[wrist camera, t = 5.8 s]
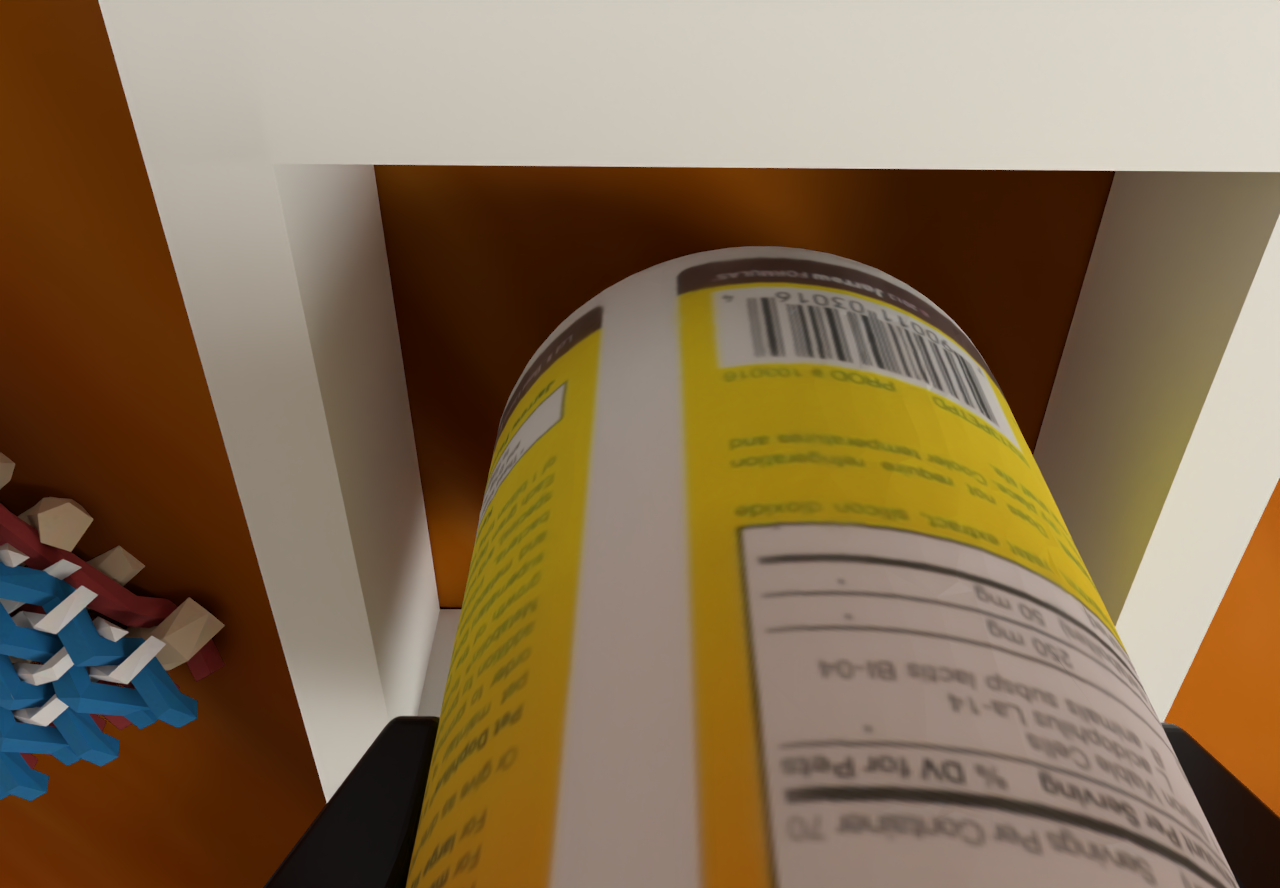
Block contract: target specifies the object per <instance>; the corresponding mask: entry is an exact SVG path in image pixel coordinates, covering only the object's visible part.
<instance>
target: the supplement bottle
mask: <svg viewBox="0 0 1280 888" xmlns="http://www.w3.org/2000/svg"><path fill="white" fill-rule="evenodd" d="M406 888H1240V887H1239V885H1238V883H1237V881H1236V879H1235V877H1234V875H1233V873H1232V871H1231V869H1230V867H1229V865H1228V863H1227V861H1226V859H1225V856H1224V854H1223V852H1222V850H1221V848H1220V846H1219V844H1218V842H1217V840H1216V838H1215V836H1214V834H1213V832H1212V830H1211V828H1210V825H1209V823H1208V821H1207V819H1206V817H1205V815H1204V813H1203V811H1202V809H1201V807H1200V805H1199V803H1198V801H1197V799H1196V796H1195V794H1194V792H1193V790H1192V788H1191V786H1190V784H1189V782H1188V780H1187V778H1186V776H1185V773H1184V771H1183V769H1182V767H1181V765H1180V763H1179V761H1178V759H1177V757H1176V754H1175V752H1174V750H1173V748H1172V746H1171V744H1170V742H1169V740H1168V738H1167V735H1166V733H1165V731H1164V729H1163V727H1162V725H1161V723H1160V721H1159V719H1158V716H1157V714H1156V712H1155V710H1154V708H1153V706H1152V704H1151V702H1150V700H1149V698H1148V696H1147V694H1146V693H1145V690H1144V688H1143V686H1142V684H1141V682H1140V679H1139V677H1138V675H1137V673H1136V671H1135V668H1134V666H1133V664H1132V662H1131V660H1130V658H1129V656H1128V654H1127V652H1126V650H1125V648H1124V646H1123V643H1122V641H1121V639H1120V637H1119V635H1118V633H1117V631H1116V629H1115V626H1114V624H1113V622H1112V620H1111V618H1110V616H1109V614H1108V612H1107V610H1106V607H1105V605H1104V603H1103V601H1102V599H1101V597H1100V595H1099V593H1098V591H1097V589H1096V587H1095V585H1094V583H1093V581H1092V578H1091V576H1090V574H1089V572H1088V570H1087V568H1086V566H1085V564H1084V562H1083V560H1082V558H1081V556H1080V554H1079V552H1078V550H1077V548H1076V546H1075V544H1074V542H1073V540H1072V537H1071V535H1070V533H1069V531H1068V529H1067V527H1066V524H1065V522H1064V520H1063V518H1062V516H1061V514H1060V511H1059V509H1058V507H1057V505H1056V503H1055V501H1054V499H1053V497H1052V495H1051V493H1050V490H1049V488H1048V486H1047V484H1046V482H1045V480H1044V478H1043V476H1042V474H1041V472H1040V470H1039V468H1038V465H1037V463H1036V461H1035V459H1034V457H1033V455H1032V453H1031V451H1030V449H1029V447H1028V445H1027V443H1026V441H1025V439H1024V437H1023V435H1022V433H1021V431H1020V428H1019V426H1018V424H1017V422H1016V420H1015V418H1014V416H1013V414H1012V412H1011V409H1010V407H1009V405H1008V403H1007V400H1006V398H1005V396H1004V394H1003V392H1002V390H1001V388H1000V386H999V384H998V382H997V380H996V379H995V377H994V376H993V374H992V372H991V371H990V369H989V367H988V366H987V364H986V362H985V361H984V359H983V357H982V356H981V354H980V353H979V351H978V350H977V349H976V347H975V346H974V344H973V343H972V342H971V340H970V339H969V337H968V336H967V335H966V334H965V333H964V332H963V330H962V329H961V328H960V327H959V326H958V325H957V324H956V323H955V321H954V320H953V319H951V318H950V317H949V316H948V315H947V314H946V313H945V312H944V311H943V310H942V309H940V308H939V307H938V306H937V305H936V304H934V303H933V302H932V301H931V300H929V299H928V298H927V297H926V296H924V295H923V294H921V293H920V292H918V291H917V290H915V289H913V288H912V287H910V286H909V285H907V284H906V283H904V282H902V281H900V280H898V279H896V278H895V277H893V276H891V275H889V274H887V273H885V272H883V271H881V270H879V269H877V268H874V267H871V266H868V265H866V264H863V263H860V262H858V261H854V260H851V259H848V258H844V257H841V256H837V255H834V254H830V253H824V252H819V251H813V250H808V249H802V248H791V247H780V246H744V247H731V248H724V249H718V250H711V251H705V252H699V253H695V254H690V255H686V256H682V257H679V258H676V259H672V260H669V261H666V262H663V263H660V264H657V265H654V266H652V267H650V268H647V269H645V270H642V271H640V272H638V273H635V274H633V275H631V276H629V277H627V278H625V279H623V280H621V281H620V282H618V283H616V284H614V285H612V286H610V287H608V288H607V289H605V290H603V291H602V292H601V293H599V294H598V295H596V296H595V297H593V298H592V299H591V300H589V301H588V302H586V303H585V304H584V305H582V306H581V307H579V308H578V309H577V310H575V311H574V312H573V313H572V314H571V315H570V316H569V317H568V318H566V319H565V320H564V321H563V322H562V323H561V324H560V325H559V326H558V327H557V328H556V329H555V330H554V331H553V332H552V333H551V334H550V336H549V337H548V338H547V339H546V340H545V341H544V343H543V344H542V345H541V346H540V347H539V348H538V350H537V351H536V352H535V354H534V355H533V356H532V358H531V359H530V361H529V362H528V364H527V365H526V367H525V369H524V371H523V372H522V374H521V376H520V378H519V379H518V381H517V383H516V385H515V387H514V388H513V390H512V392H511V394H510V396H509V398H508V401H507V404H506V407H505V409H504V412H503V415H502V418H501V420H500V424H499V428H498V433H497V438H496V442H495V446H494V451H493V456H492V461H491V466H490V470H489V475H488V479H487V484H486V489H485V494H484V499H483V505H482V508H481V512H480V516H479V524H478V528H477V532H476V539H475V545H474V549H473V554H472V559H471V563H470V569H469V574H468V580H467V585H466V589H465V594H464V599H463V604H462V609H461V614H460V619H459V624H458V628H457V632H456V637H455V641H454V647H453V652H452V658H451V663H450V669H449V674H448V678H447V683H446V687H445V692H444V698H443V703H442V709H441V715H440V720H439V725H438V730H437V735H436V740H435V745H434V750H433V755H432V760H431V765H430V770H429V774H428V779H427V784H426V789H425V794H424V799H423V804H422V809H421V814H420V819H419V824H418V829H417V834H416V839H415V844H414V848H413V853H412V858H411V863H410V867H409V872H408V878H407V883H406Z"/></svg>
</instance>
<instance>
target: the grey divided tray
mask: <svg viewBox="0 0 1280 888" xmlns="http://www.w3.org/2000/svg"><path fill="white" fill-rule="evenodd" d="M98 1H99V5H100V8H101V12H102V15H103V19H104V22H105V26H106V29H107V33H108V36H109V40H110V43H111V47H112V50H113V54H114V57H115V61H116V64H117V68H118V71H119V75H120V79H121V82H122V86H123V89H124V93H125V96H126V100H127V103H128V107H129V110H130V114H131V117H132V121H133V124H134V128H135V131H136V135H137V138H138V142H139V145H140V149H141V152H142V156H143V159H144V163H145V166H146V170H147V173H148V177H149V180H150V184H151V187H152V191H153V194H154V198H155V202H156V205H157V209H158V212H159V216H160V219H161V223H162V226H163V230H164V233H165V237H166V240H167V244H168V247H169V251H170V254H171V258H172V261H173V265H174V268H175V272H176V275H177V279H178V282H179V286H180V289H181V293H182V296H183V300H184V303H185V307H186V310H187V314H188V317H189V321H190V325H191V328H192V332H193V335H194V339H195V342H196V346H197V349H198V353H199V356H200V360H201V363H202V367H203V370H204V374H205V377H206V381H207V384H208V388H209V391H210V395H211V398H212V402H213V405H214V409H215V412H216V416H217V419H218V423H219V426H220V430H221V433H222V437H223V440H224V444H225V448H226V451H227V455H228V458H229V462H230V465H231V469H232V472H233V476H234V479H235V483H236V486H237V490H238V493H239V497H240V500H241V504H242V507H243V511H244V514H245V518H246V521H247V525H248V528H249V532H250V535H251V539H252V542H253V546H254V549H255V553H256V556H257V560H258V563H259V567H260V571H261V574H262V578H263V581H264V585H265V588H266V592H267V595H268V599H269V602H270V606H271V609H272V613H273V616H274V620H275V623H276V627H277V630H278V634H279V637H280V641H281V644H282V648H283V651H284V655H285V658H286V662H287V665H288V669H289V672H290V676H291V679H292V683H293V686H294V690H295V694H296V697H297V701H298V704H299V708H300V711H301V715H302V718H303V722H304V725H305V729H306V732H307V736H308V739H309V743H310V746H311V750H312V753H313V757H314V760H315V764H316V767H317V771H318V774H319V778H320V781H321V785H322V788H323V792H324V795H325V799H326V802H327V803H328V801H329V800H330V799H331V797H332V796H333V795H334V793H335V792H336V791H337V789H338V788H339V787H340V786H341V784H342V783H343V782H344V780H345V779H346V778H347V776H348V775H349V774H350V772H351V771H352V770H353V768H354V767H355V766H356V764H357V763H358V762H359V760H360V759H361V758H362V756H363V755H364V754H365V752H366V751H367V750H368V748H369V747H370V746H371V744H372V743H373V742H374V740H375V739H376V738H377V737H378V735H379V734H380V733H381V731H382V730H383V729H384V727H385V726H386V725H387V724H388V722H390V721H391V720H392V719H394V718H395V717H398V716H436V717H439V718H440V715H441V709H442V703H443V698H444V692H445V687H446V683H447V678H448V674H449V669H450V663H451V658H452V652H453V647H454V641H455V637H456V632H457V628H458V624H459V619H460V614H461V609H440V606H439V600H438V593H437V586H436V580H435V573H434V566H433V560H432V553H431V546H430V539H429V533H428V526H427V519H426V513H425V506H424V499H423V493H422V486H421V479H420V472H419V466H418V459H417V452H416V446H415V439H414V432H413V426H412V419H411V412H410V406H409V399H408V392H407V385H406V379H405V372H404V365H403V359H402V352H401V345H400V339H399V332H398V325H397V319H396V312H395V305H394V298H393V292H392V285H391V278H390V272H389V265H388V258H387V252H386V245H385V238H384V232H383V225H382V218H381V211H380V205H379V198H378V191H377V185H376V178H375V171H374V165H482V166H602V167H723V168H843V169H964V170H1084V171H1116V172H1115V175H1114V179H1113V182H1112V186H1111V189H1110V192H1109V196H1108V199H1107V203H1106V206H1105V210H1104V213H1103V216H1102V220H1101V223H1100V227H1099V230H1098V234H1097V237H1096V241H1095V244H1094V247H1093V251H1092V254H1091V258H1090V261H1089V265H1088V268H1087V272H1086V275H1085V278H1084V282H1083V285H1082V289H1081V292H1080V296H1079V299H1078V302H1077V306H1076V309H1075V313H1074V316H1073V320H1072V323H1071V327H1070V330H1069V333H1068V337H1067V340H1066V344H1065V347H1064V351H1063V354H1062V358H1061V361H1060V364H1059V368H1058V371H1057V375H1056V378H1055V382H1054V385H1053V388H1052V392H1051V395H1050V399H1049V402H1048V406H1047V409H1046V413H1045V416H1044V419H1043V423H1042V426H1041V430H1040V433H1039V437H1038V440H1037V444H1036V447H1035V450H1034V454H1033V457H1034V459H1035V461H1036V463H1037V465H1038V468H1039V470H1040V472H1041V474H1042V476H1043V478H1044V480H1045V482H1046V484H1047V486H1048V488H1049V490H1050V493H1051V495H1052V497H1053V499H1054V501H1055V503H1056V505H1057V507H1058V509H1059V511H1060V514H1061V516H1062V518H1063V520H1064V522H1065V524H1066V527H1067V529H1068V531H1069V533H1070V535H1071V537H1072V540H1073V542H1074V544H1075V546H1076V548H1077V550H1078V552H1079V554H1080V556H1081V558H1082V560H1083V562H1084V564H1085V566H1086V568H1087V570H1088V572H1089V574H1090V576H1091V578H1092V581H1093V583H1094V585H1095V587H1096V589H1097V591H1098V593H1099V595H1100V597H1101V599H1102V601H1103V603H1104V605H1105V607H1106V610H1107V612H1108V614H1109V616H1110V618H1111V620H1112V622H1113V624H1114V626H1115V629H1116V631H1117V633H1118V635H1119V637H1120V639H1121V641H1122V643H1123V646H1124V648H1125V650H1126V652H1127V654H1128V656H1129V658H1130V660H1131V662H1132V664H1133V666H1134V668H1135V671H1136V673H1137V675H1138V677H1139V679H1140V682H1141V684H1142V686H1143V688H1144V690H1145V693H1146V694H1147V696H1148V698H1149V700H1150V702H1151V704H1152V706H1153V708H1154V710H1155V712H1156V714H1157V716H1158V719H1159V721H1160V722H1162V723H1163V722H1164V720H1165V718H1166V716H1167V714H1168V712H1169V710H1170V707H1171V705H1172V703H1173V701H1174V699H1175V697H1176V695H1177V693H1178V691H1179V688H1180V686H1181V684H1182V682H1183V680H1184V678H1185V676H1186V674H1187V672H1188V669H1189V667H1190V665H1191V663H1192V661H1193V659H1194V657H1195V655H1196V653H1197V651H1198V648H1199V646H1200V644H1201V642H1202V640H1203V638H1204V636H1205V634H1206V632H1207V629H1208V627H1209V625H1210V623H1211V621H1212V619H1213V617H1214V615H1215V613H1216V610H1217V608H1218V606H1219V604H1220V602H1221V600H1222V598H1223V596H1224V594H1225V591H1226V589H1227V587H1228V585H1229V583H1230V581H1231V579H1232V577H1233V575H1234V572H1235V570H1236V568H1237V566H1238V564H1239V562H1240V560H1241V558H1242V556H1243V554H1244V551H1245V549H1246V547H1247V545H1248V543H1249V541H1250V539H1251V537H1252V535H1253V532H1254V530H1255V528H1256V526H1257V524H1258V522H1259V520H1260V518H1261V516H1262V513H1263V511H1264V509H1265V507H1266V505H1267V503H1268V501H1269V499H1270V497H1271V494H1272V492H1273V490H1274V488H1275V486H1276V484H1277V482H1278V480H1279V478H1280V0H98Z"/></svg>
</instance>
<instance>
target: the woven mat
mask: <svg viewBox="0 0 1280 888" xmlns="http://www.w3.org/2000/svg"><path fill="white" fill-rule="evenodd" d="M14 467H15V463H14V462H13V461H11V460H10V459H9V458H8V457H6V456H5V455H4V454H2V453H1V452H0V489H1V488H2V487H3V486H5V485H6V484H7V483H8V482H9V481H10V480H11V477H12V474H13V470H14ZM93 520H94V519H93V518H92V517H91V516H90V515H89V514H88V512H87V511H86V510H85V509H84V508H83V507H82V506H81V505H80V504H78V503H77V502H76V501H74V500H73V499H67V498H57V497H47V498H42V499H41V500H40V501H39V502H38V503H37V504H36V505H35V506H33V507H32V508H30V509H28V510H27V511H25V512H24V513H22V514H20V515H19V516H16V515H14V514H13V513H11V512H10V511H9V510H8V509H7V508H6V507H4V506H3V505H2V504H1V503H0V800H1V799H3V798H5V797H7V796H9V795H11V794H12V795H15V796H18V797H20V798H23V799H26V800H28V801H32V800H34V799H35V798H37V797H39V796H41V795H43V794H45V793H46V792H47V787H48V780H49V776H48V775H46V774H43V773H41V772H38V771H36V770H33V769H34V767H35V765H36V763H37V761H38V759H37V758H36V757H34V756H33V755H32V754H30V753H37V754H49V755H51V756H54V757H55V758H57V759H58V760H60V761H61V762H63V763H64V764H65V765H67V766H69V765H71V764H73V763H75V762H77V761H79V760H81V759H84V760H87V761H89V762H91V763H94V764H96V765H98V766H103V765H105V764H107V763H108V762H110V761H112V760H114V759H116V758H118V755H119V745H120V740H118V739H116V738H114V737H111V736H109V735H107V734H105V733H103V732H102V731H103V729H104V726H105V724H106V721H105V720H104V719H102V718H101V717H99V716H98V715H96V714H102V715H103V716H104V717H105V718H106V719H107V720H109V721H110V722H111V723H112V724H113V725H115V726H116V727H117V728H118V729H119V730H122V729H124V728H125V727H127V726H129V725H131V724H134V725H136V726H137V727H138V728H140V729H143V728H145V727H147V726H149V725H151V724H153V723H155V722H156V721H157V720H158V719H159V720H162V721H164V722H166V723H168V724H170V725H173V726H175V727H177V728H180V727H182V726H184V725H185V724H187V723H189V722H191V721H193V720H195V719H197V707H198V701H197V700H195V699H193V698H190V697H188V696H186V695H184V694H182V693H180V691H179V688H180V687H179V686H178V685H177V684H175V683H174V682H173V681H172V679H171V678H170V677H169V675H168V674H167V672H166V671H165V670H171V669H173V668H175V667H177V666H179V665H181V664H183V663H185V662H186V663H187V665H188V667H189V669H190V671H191V673H192V675H193V677H194V678H195V680H196V681H198V680H200V679H202V678H204V677H206V676H208V675H210V674H212V673H214V672H215V671H217V670H218V669H220V668H221V667H223V666H224V663H223V660H222V658H221V656H220V654H219V652H218V650H217V648H216V646H215V644H214V642H213V640H212V638H213V637H214V636H215V635H216V634H217V633H218V632H219V631H220V630H221V629H222V628H223V627H224V626H225V625H224V624H223V623H221V622H220V621H219V620H218V619H217V618H215V617H214V616H213V615H212V614H211V613H210V612H208V611H207V610H206V609H204V608H203V607H202V606H200V605H199V604H198V603H196V602H195V601H194V600H192V599H191V598H190V597H188V598H187V599H186V600H185V601H184V602H183V603H182V604H181V605H180V606H179V607H177V606H176V605H175V604H174V603H173V602H171V601H170V600H168V599H162V598H152V597H143V596H136V595H135V594H133V593H132V592H130V591H129V590H127V589H126V588H124V587H123V586H124V585H125V584H127V583H128V582H129V581H130V580H131V579H132V578H133V577H134V576H135V575H136V574H138V573H139V572H140V571H141V570H142V569H143V568H144V567H145V565H144V564H142V563H141V562H140V561H138V560H137V559H136V558H135V557H133V556H132V555H131V554H129V553H128V552H127V551H126V550H124V549H123V548H122V547H120V546H117V547H115V548H113V549H111V550H109V551H107V552H105V553H103V554H101V555H99V556H97V557H95V558H93V559H91V560H89V561H87V562H85V561H83V560H82V559H80V558H79V557H77V556H76V555H74V554H73V553H71V551H72V550H73V548H74V547H75V546H76V544H77V543H78V541H79V540H80V538H81V537H82V535H83V534H84V533H85V531H86V530H87V528H88V527H89V525H90V524H91V522H92V521H93ZM25 565H27V566H29V567H30V568H27V567H23V566H25ZM89 609H93V610H95V611H97V612H99V613H101V614H103V615H105V616H107V617H109V618H112V619H114V620H116V621H118V622H120V623H122V624H124V625H126V626H130V627H129V628H127V629H125V630H124V629H122V628H120V627H118V626H116V625H114V624H112V623H110V622H108V621H106V620H104V619H102V618H100V617H97V618H96V619H95V620H92V619H91V618H90V616H89V614H88V612H87V611H88V610H89ZM32 661H36V662H41V663H45V664H44V665H38V664H29V663H30V662H32ZM114 682H116V683H120V684H121V685H122V686H124V687H119V686H117V685H116V684H115V683H114Z"/></svg>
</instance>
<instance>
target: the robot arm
mask: <svg viewBox="0 0 1280 888" xmlns="http://www.w3.org/2000/svg"><path fill="white" fill-rule="evenodd" d="M439 720H440V718H439V717H436V716H398V717H395V718H394V719H392V720H391V721H390V722H388V724H387V725H386V726H385V727H384V729H383V730H382V731H381V733H380V734H379V735H378V737H377V738H376V739H375V740H374V742H373V743H372V744H371V746H370V747H369V748H368V750H367V751H366V752H365V754H364V755H363V756H362V758H361V759H360V760H359V762H358V763H357V764H356V766H355V767H354V768H353V770H352V771H351V772H350V774H349V775H348V776H347V778H346V779H345V780H344V782H343V783H342V784H341V786H340V787H339V788H338V789H337V791H336V792H335V793H334V795H333V796H332V797H331V799H330V800H329V801H328V803H327V804H326V805H325V807H324V808H323V809H322V811H321V812H320V813H319V815H318V816H317V817H316V819H315V820H314V821H313V823H312V824H311V825H310V827H309V828H308V829H307V831H306V832H305V833H304V834H303V836H302V837H301V838H300V840H299V841H298V842H297V844H296V845H295V846H294V848H293V849H292V850H291V852H290V853H289V854H288V856H287V857H286V858H285V860H284V861H283V862H282V864H281V865H280V866H279V868H278V869H277V870H276V872H275V873H274V874H273V876H272V877H271V878H270V880H269V881H268V882H267V883H266V885H265V886H264V887H263V888H406V883H407V878H408V872H409V867H410V863H411V858H412V853H413V848H414V844H415V839H416V834H417V829H418V824H419V819H420V814H421V809H422V804H423V799H424V794H425V789H426V784H427V779H428V774H429V770H430V765H431V760H432V755H433V750H434V745H435V740H436V735H437V730H438V725H439ZM1160 723H1161V725H1162V727H1163V729H1164V731H1165V733H1166V735H1167V738H1168V740H1169V742H1170V744H1171V746H1172V748H1173V750H1174V752H1175V754H1176V757H1177V759H1178V761H1179V763H1180V765H1181V767H1182V769H1183V771H1184V773H1185V776H1186V778H1187V780H1188V782H1189V784H1190V786H1191V788H1192V790H1193V792H1194V794H1195V796H1196V799H1197V801H1198V803H1199V805H1200V807H1201V809H1202V811H1203V813H1204V815H1205V817H1206V819H1207V821H1208V823H1209V825H1210V828H1211V830H1212V832H1213V834H1214V836H1215V838H1216V840H1217V842H1218V844H1219V846H1220V848H1221V850H1222V852H1223V854H1224V856H1225V859H1226V861H1227V863H1228V865H1229V867H1230V869H1231V871H1232V873H1233V875H1234V877H1235V879H1236V881H1237V883H1238V885H1239V887H1240V888H1280V817H1279V816H1278V815H1276V814H1275V813H1274V812H1273V811H1272V810H1271V809H1270V808H1269V807H1268V806H1267V805H1266V804H1264V803H1263V802H1262V801H1261V800H1260V799H1259V798H1258V797H1257V796H1256V795H1255V794H1254V793H1252V792H1251V791H1250V790H1249V789H1248V788H1247V787H1246V786H1245V785H1244V784H1243V783H1242V782H1240V781H1239V780H1238V779H1237V778H1236V777H1235V776H1234V775H1233V774H1232V773H1231V772H1229V771H1228V770H1227V769H1226V768H1225V767H1224V766H1223V765H1222V764H1221V763H1220V762H1219V761H1217V760H1216V759H1215V758H1214V757H1213V756H1212V755H1211V754H1210V753H1209V752H1208V751H1207V750H1205V749H1204V748H1203V747H1202V746H1201V745H1200V744H1199V743H1198V742H1197V741H1196V740H1195V739H1193V738H1192V737H1191V736H1190V735H1189V734H1188V733H1187V732H1186V731H1184V730H1183V729H1181V728H1180V727H1178V726H1176V725H1174V724H1171V723H1162V722H1160Z"/></svg>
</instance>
